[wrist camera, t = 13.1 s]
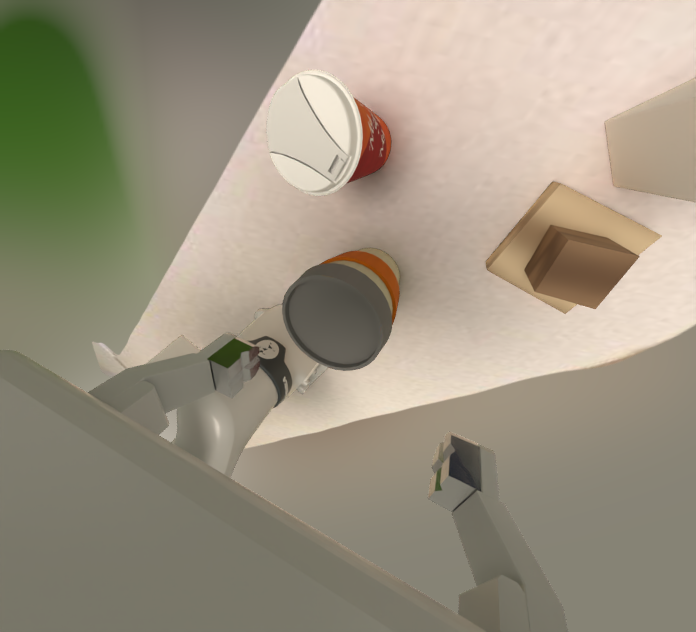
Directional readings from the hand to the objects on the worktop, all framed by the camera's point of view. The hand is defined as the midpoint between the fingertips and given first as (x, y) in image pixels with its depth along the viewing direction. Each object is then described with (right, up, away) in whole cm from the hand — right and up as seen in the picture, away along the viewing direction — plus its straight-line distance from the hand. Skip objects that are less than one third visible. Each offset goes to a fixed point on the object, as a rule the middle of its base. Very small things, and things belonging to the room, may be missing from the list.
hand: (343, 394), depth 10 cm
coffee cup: (+3, +24, +21) cm, 32 cm away
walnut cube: (+23, +9, +16) cm, 30 cm away
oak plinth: (+24, +11, +19) cm, 32 cm away
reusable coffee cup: (+4, +9, +30) cm, 31 cm away
